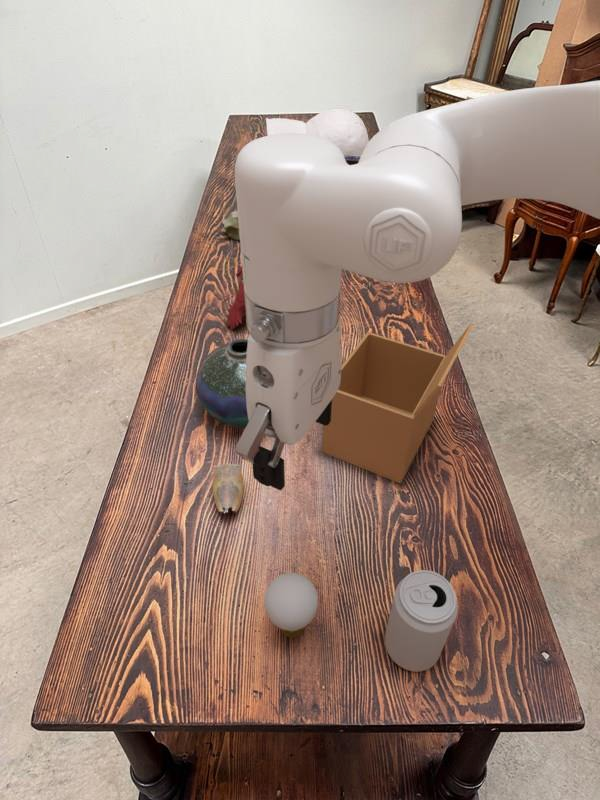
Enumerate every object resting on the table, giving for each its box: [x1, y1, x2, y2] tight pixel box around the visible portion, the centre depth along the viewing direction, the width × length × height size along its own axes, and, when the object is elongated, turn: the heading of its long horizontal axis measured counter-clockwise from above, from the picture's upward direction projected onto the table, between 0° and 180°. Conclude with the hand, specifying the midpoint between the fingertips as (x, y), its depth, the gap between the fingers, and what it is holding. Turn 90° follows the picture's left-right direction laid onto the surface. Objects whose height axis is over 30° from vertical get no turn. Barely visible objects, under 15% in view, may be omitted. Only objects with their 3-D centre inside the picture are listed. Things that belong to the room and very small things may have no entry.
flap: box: [414, 322, 475, 416], centre depth 72 cm, size 6×15×1 cm
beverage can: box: [384, 569, 459, 673], centre depth 58 cm, size 6×6×12 cm
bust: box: [265, 107, 370, 155], centre depth 154 cm, size 30×22×24 cm
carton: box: [321, 331, 446, 484], centre depth 82 cm, size 13×15×14 cm
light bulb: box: [263, 572, 319, 639], centre depth 60 cm, size 6×6×10 cm
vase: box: [195, 338, 272, 429], centre depth 86 cm, size 15×15×13 cm
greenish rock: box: [221, 210, 240, 241], centre depth 136 cm, size 9×9×8 cm
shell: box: [212, 462, 244, 515], centre depth 76 cm, size 8×4×5 cm, turn 14°
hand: (294, 449), depth 55 cm, fingers open, 9 cm apart
